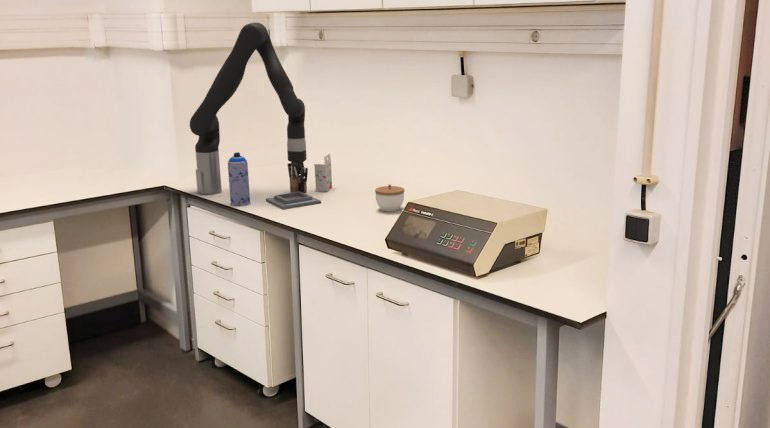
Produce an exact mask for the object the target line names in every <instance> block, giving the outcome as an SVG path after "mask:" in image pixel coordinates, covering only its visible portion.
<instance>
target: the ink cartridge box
mask: <svg viewBox="0 0 770 428" xmlns="http://www.w3.org/2000/svg"><path fill="white" fill-rule="evenodd" d="M313 165H314V178H315V182H314V183H315V192H321V193H328V191H330V190H331V189H332V187H333V181H332V180H333V179H332V178H333V177H332V175H333V174H332V160H331V153H328V154H326V155H325V156H324V159H323V160H321V159H320V160H319V161H317V162H316V163H314V164H313Z"/></svg>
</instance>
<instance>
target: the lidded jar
mask: <svg viewBox="0 0 770 428" xmlns="http://www.w3.org/2000/svg"><path fill="white" fill-rule="evenodd" d="M374 190H375V193H374V194H375V201H376V204H377V206H378V207H379V208H380V209H381V211H383V212H387V213H388V212H389V213H390V212H392V213H393V212H397V211H398V210H399V209H400V208H401V207H402V206H403V203H404V198H405V188H404V187H402V186H398V185H397V186H396V185H392V184H388V185H384V186H380V187H376V188H375V189H374Z"/></svg>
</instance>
